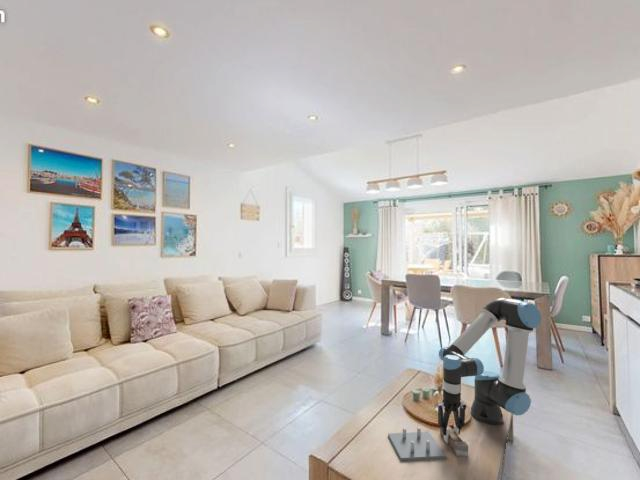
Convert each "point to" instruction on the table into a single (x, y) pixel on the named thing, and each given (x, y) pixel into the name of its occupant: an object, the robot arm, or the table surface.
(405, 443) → the slate peg board
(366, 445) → the table surface
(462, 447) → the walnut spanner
